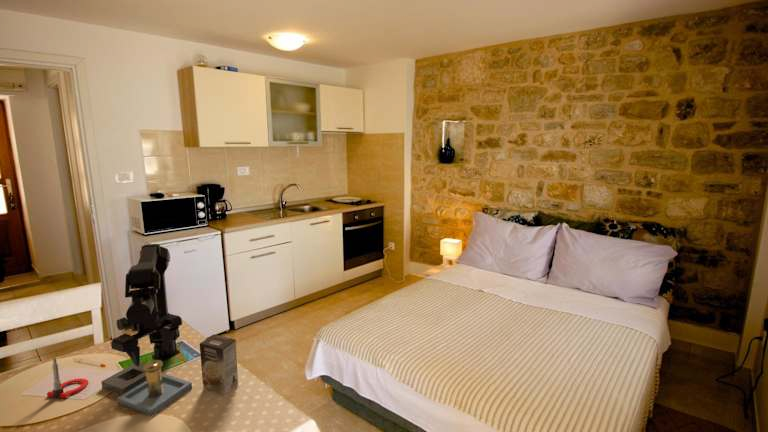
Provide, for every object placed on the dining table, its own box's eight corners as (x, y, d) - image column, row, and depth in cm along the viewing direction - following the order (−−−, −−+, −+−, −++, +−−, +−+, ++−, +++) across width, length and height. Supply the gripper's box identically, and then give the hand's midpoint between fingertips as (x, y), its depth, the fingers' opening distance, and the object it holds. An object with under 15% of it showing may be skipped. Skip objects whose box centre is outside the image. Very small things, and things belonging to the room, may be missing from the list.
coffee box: (202, 390, 121) (197, 343, 118) (216, 378, 127) (213, 333, 124) (225, 396, 118) (221, 348, 115) (239, 384, 124) (236, 338, 121)
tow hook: (72, 380, 127) (44, 397, 117) (69, 343, 125) (39, 357, 116) (95, 383, 125) (68, 400, 116) (91, 345, 123) (63, 360, 114)
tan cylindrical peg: (157, 386, 121) (154, 358, 120) (169, 390, 120) (166, 362, 118) (142, 396, 117) (138, 367, 115) (154, 400, 115) (150, 371, 113)
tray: (160, 378, 127) (160, 372, 127) (192, 388, 122) (191, 382, 122) (118, 404, 114) (117, 398, 114) (151, 416, 109) (150, 410, 109)
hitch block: (138, 368, 133) (137, 361, 132) (159, 375, 129) (158, 368, 128) (102, 388, 122) (101, 381, 121) (123, 396, 118) (122, 389, 117)
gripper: (155, 294, 124) (160, 338, 127) (94, 317, 107) (102, 368, 110) (181, 299, 120) (185, 345, 123) (121, 324, 103) (128, 377, 106)
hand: (151, 357), depth 116 cm, fingers open, 9 cm apart
